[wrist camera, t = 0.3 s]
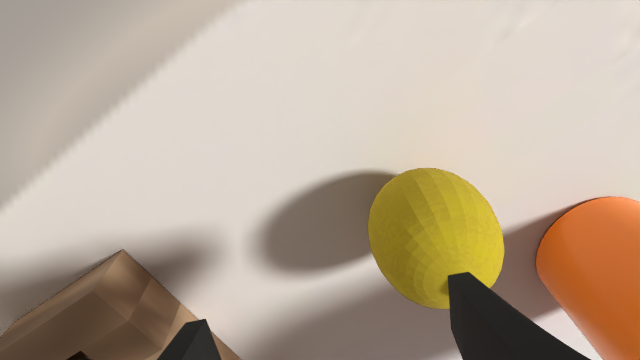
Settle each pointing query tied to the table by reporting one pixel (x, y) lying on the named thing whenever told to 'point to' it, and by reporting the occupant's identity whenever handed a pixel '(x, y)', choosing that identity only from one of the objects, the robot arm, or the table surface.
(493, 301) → the robot arm
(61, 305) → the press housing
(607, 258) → the shaker bottle
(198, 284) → the table surface
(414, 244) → the lemon
